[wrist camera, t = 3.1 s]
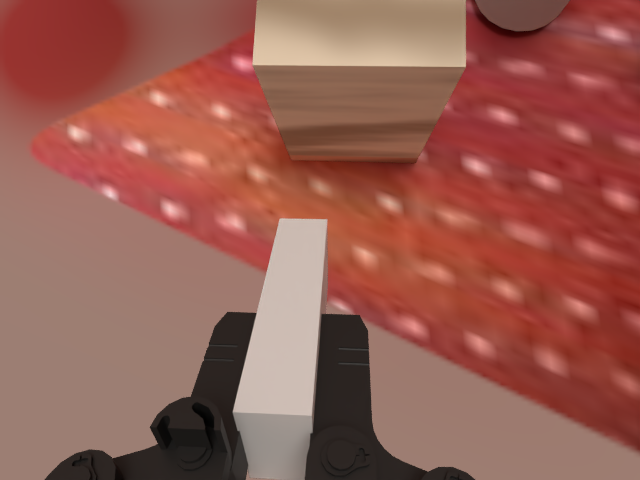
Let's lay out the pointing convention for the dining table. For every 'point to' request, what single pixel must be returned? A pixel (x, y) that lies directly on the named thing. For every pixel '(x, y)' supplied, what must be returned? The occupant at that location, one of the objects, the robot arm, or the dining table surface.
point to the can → (521, 12)
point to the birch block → (358, 74)
